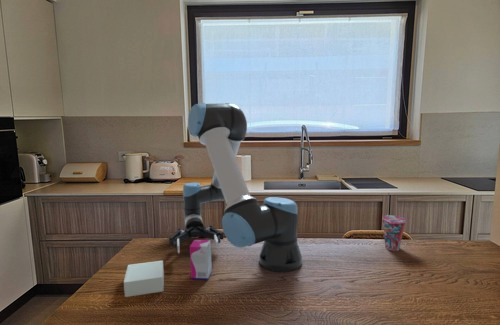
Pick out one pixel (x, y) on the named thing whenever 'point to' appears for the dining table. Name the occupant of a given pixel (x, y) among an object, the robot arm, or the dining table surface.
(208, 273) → the supplement box
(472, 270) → the dining table surface
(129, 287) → the base block
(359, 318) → the dining table surface
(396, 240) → the cup
